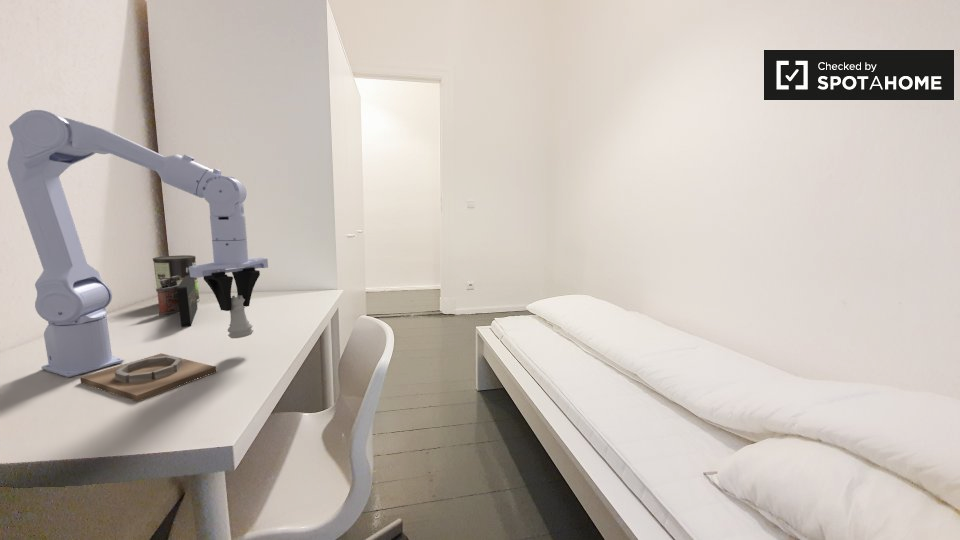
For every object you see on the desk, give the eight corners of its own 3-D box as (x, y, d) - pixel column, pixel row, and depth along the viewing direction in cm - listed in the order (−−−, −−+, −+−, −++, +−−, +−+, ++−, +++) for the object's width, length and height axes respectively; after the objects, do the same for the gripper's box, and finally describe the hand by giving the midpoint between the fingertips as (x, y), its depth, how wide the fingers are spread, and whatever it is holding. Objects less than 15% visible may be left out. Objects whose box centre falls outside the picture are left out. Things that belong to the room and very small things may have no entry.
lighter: (167, 316, 106) (163, 279, 104) (155, 316, 106) (151, 279, 104) (190, 308, 114) (186, 274, 112) (178, 308, 114) (174, 274, 112)
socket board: (80, 382, 66) (79, 370, 65) (161, 358, 76) (160, 347, 76) (137, 401, 59) (135, 388, 59) (216, 372, 70) (215, 360, 70)
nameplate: (190, 326, 97) (186, 287, 96) (181, 327, 96) (176, 287, 95) (197, 308, 115) (194, 274, 113) (189, 309, 114) (186, 275, 112)
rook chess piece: (242, 339, 76) (235, 299, 75) (222, 338, 77) (215, 299, 76) (259, 331, 81) (253, 293, 79) (240, 331, 82) (234, 294, 80)
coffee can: (205, 297, 128) (200, 254, 125) (192, 305, 118) (187, 258, 116) (167, 299, 125) (162, 255, 123) (151, 307, 115) (145, 259, 113)
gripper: (204, 243, 68) (211, 319, 70) (276, 238, 81) (280, 302, 83) (179, 241, 71) (186, 314, 73) (252, 237, 84) (257, 299, 86)
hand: (235, 308), depth 78 cm, fingers closed on rook chess piece, 3 cm apart
